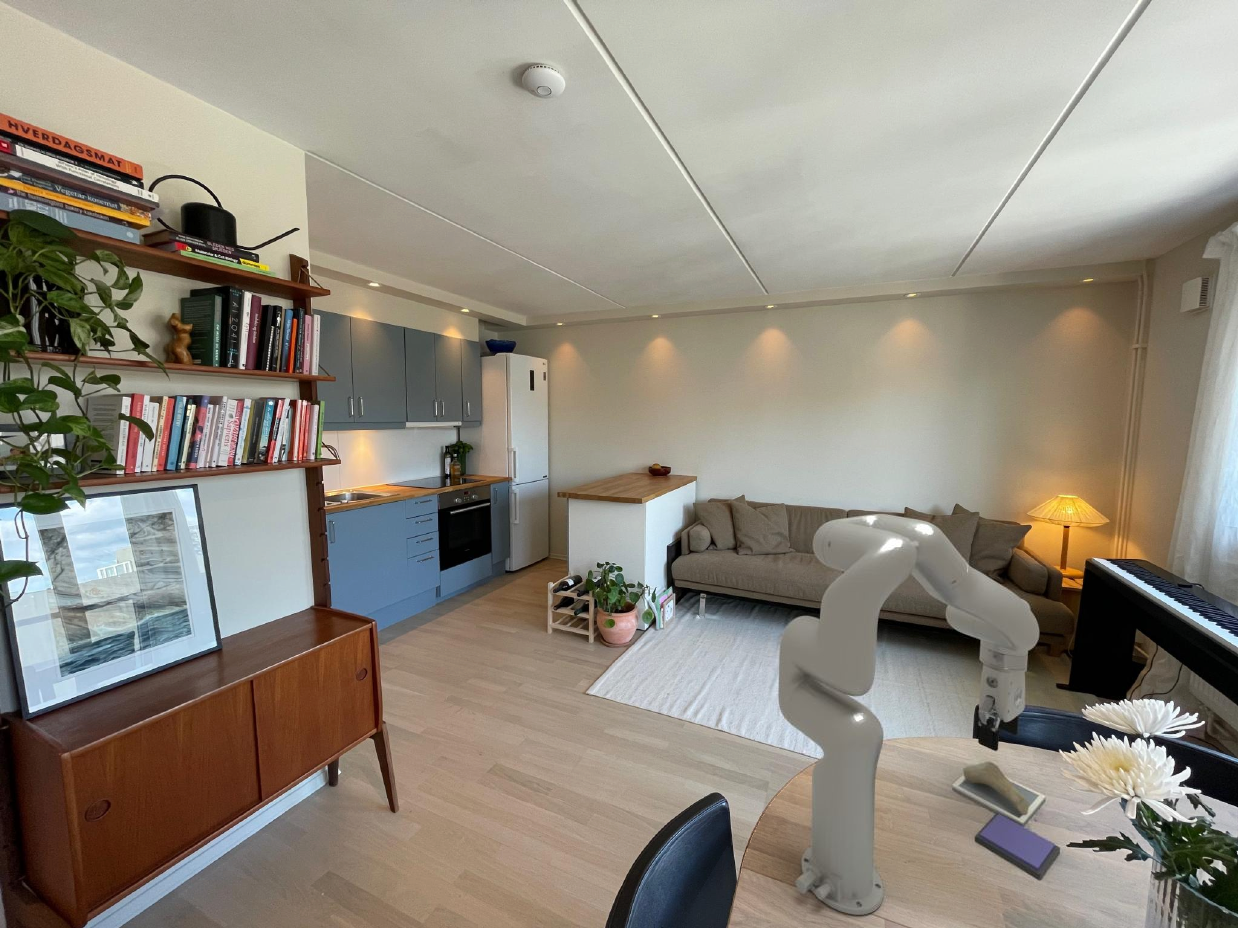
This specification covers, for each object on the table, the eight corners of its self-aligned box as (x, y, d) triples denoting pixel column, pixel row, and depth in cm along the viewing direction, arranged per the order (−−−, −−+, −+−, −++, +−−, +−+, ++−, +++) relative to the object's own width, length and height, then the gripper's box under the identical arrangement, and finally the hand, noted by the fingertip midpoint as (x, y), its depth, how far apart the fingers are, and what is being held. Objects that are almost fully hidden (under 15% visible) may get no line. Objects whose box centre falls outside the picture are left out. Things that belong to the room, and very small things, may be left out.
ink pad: (1040, 880, 82) (1040, 871, 82) (974, 840, 90) (975, 833, 90) (1059, 852, 87) (1060, 844, 87) (996, 817, 95) (996, 810, 95)
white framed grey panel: (1022, 827, 93) (1022, 822, 93) (951, 789, 103) (952, 784, 103) (1045, 800, 99) (1045, 795, 99) (976, 767, 109) (977, 762, 109)
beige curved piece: (959, 778, 104) (961, 756, 104) (978, 773, 107) (981, 751, 107) (1019, 816, 94) (1021, 791, 94) (1039, 810, 96) (1041, 785, 96)
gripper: (1008, 675, 91) (1002, 764, 92) (1042, 654, 101) (1036, 734, 102) (962, 660, 97) (957, 743, 98) (998, 641, 107) (993, 717, 108)
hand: (998, 738), depth 100 cm, fingers open, 9 cm apart
